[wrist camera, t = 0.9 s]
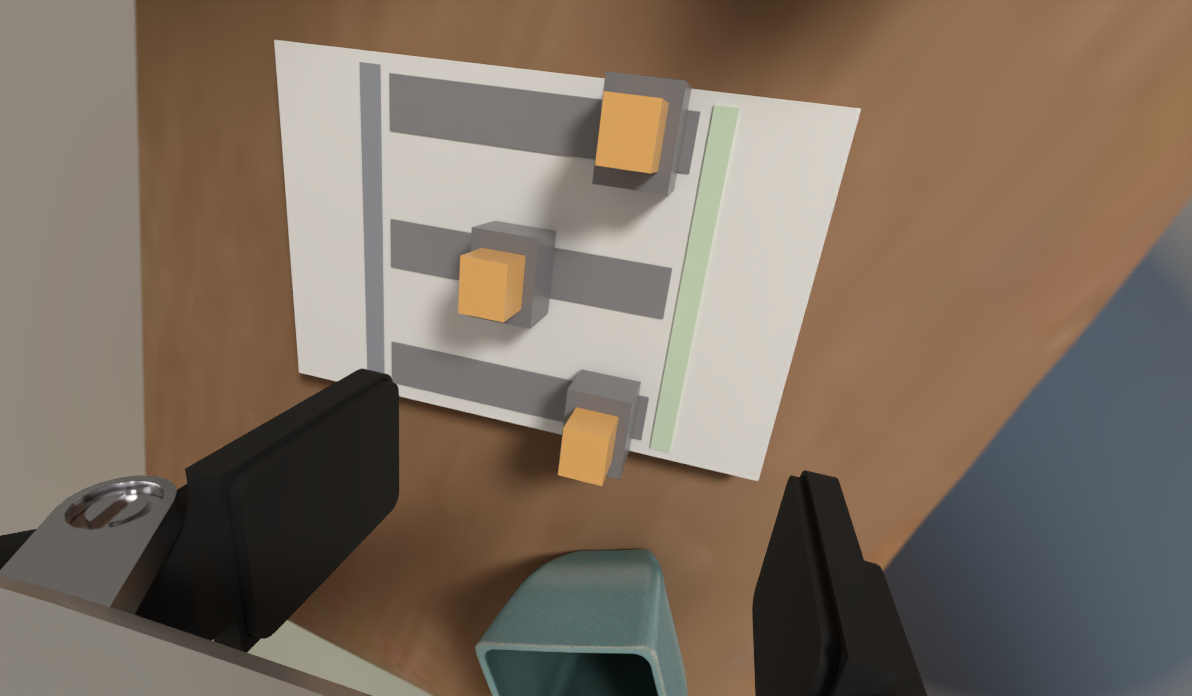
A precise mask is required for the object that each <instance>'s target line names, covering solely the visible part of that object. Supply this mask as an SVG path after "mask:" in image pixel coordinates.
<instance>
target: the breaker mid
mask: <svg viewBox="0 0 1192 696" xmlns="http://www.w3.org/2000/svg"><path fill="white" fill-rule="evenodd" d="M555 239H556V231H553V230H548V229H542V228H536V227H530V226H524V225H518V224H512V223H506V222H500V221H492V222H488V223H485V224H481V225H478V226H474V227H472V231H471V252H469V253H466V254H463V255H461V256H460V276H459V303H458V313H460V314H465V315H468V316H470V317H475V318H480V319H485V320H489V321H494V322H499V323H504V324H509V325H514V326H519V327H524V328H529V329H531V328H532V327H533V326H534V325H535V324H537V323H538V322H539V321H540V320H541V319H542V318H544V317H545V316H546V315H547V314H548V309H549V299H550V289H551V279H552V269H553V259H554V249H555Z"/></svg>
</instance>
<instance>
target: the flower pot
mask: <svg viewBox="0 0 1192 696" xmlns="http://www.w3.org/2000/svg"><path fill="white" fill-rule="evenodd" d="M475 652H476V654H477V657H478V660H479V663H480V666H481V668H482V671H483V673H484V676H485V679H486V681H487V684H488V687H489V689H490V691H491V694H492V696H688V694H687V682H686V676H685V670H684V664H683V659H682V655H681V651H680V647H679V643H678V639H677V635H676V631H675V626H674V622H673V618H672V614H671V609H670V605H669V601H668V597H667V592H666V588H665V583H664V579H663V574H662V571H661V567H660V565H659V562H658V560H657V559H656V557H655V556H654V555H653V553H652V552H650V551H649V550H645V549H632V550H599V551H575V552H572V553H569V554H566V555H563V556H560V557H558V558H555V559H553V560H551V561H549V562H548V563H546V564H544V565H543V566H541V567H540V568H538V569H537V570H536V571H534V572H533V573H532V574H531V575H530V576H529V577H528V578H526V580H525V581H524V582H523V583H522V584H521V585H520V586H519V588H518V589H517V590H516V591H515V593H514V594H513V595H512V596H511V598H510V599H509V601H508V602H507V603H506V605H505V606H504V607H503V609H502V610H501V611H500V613H499V614H498V615H497V617H496V618H495V619H494V621H493V622H492V624H491V625H490V627H489V628H488V629H487V631H486V632H485V634H484V635H483V636H482V638H481V639H480V640H479V642H478V643H477V644H476V646H475Z"/></svg>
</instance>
